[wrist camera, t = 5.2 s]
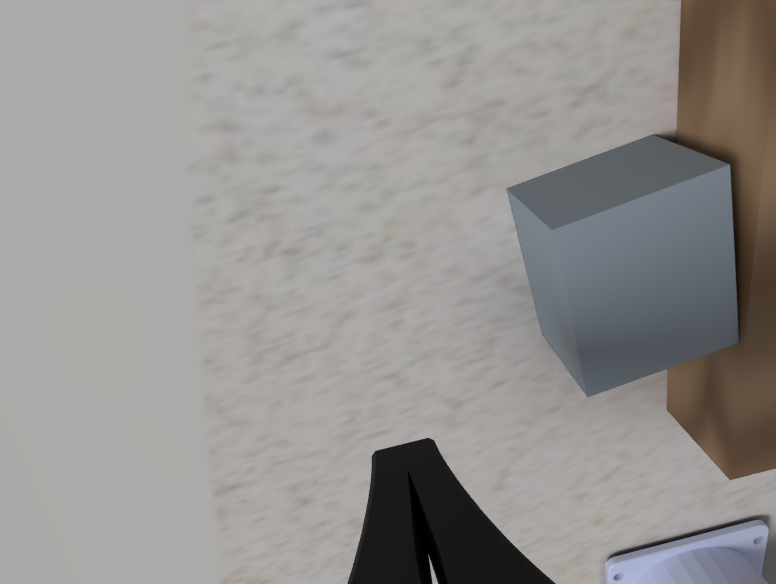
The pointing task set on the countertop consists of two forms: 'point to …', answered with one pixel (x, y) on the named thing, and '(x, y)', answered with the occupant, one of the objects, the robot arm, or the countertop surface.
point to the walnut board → (734, 226)
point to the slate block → (630, 260)
